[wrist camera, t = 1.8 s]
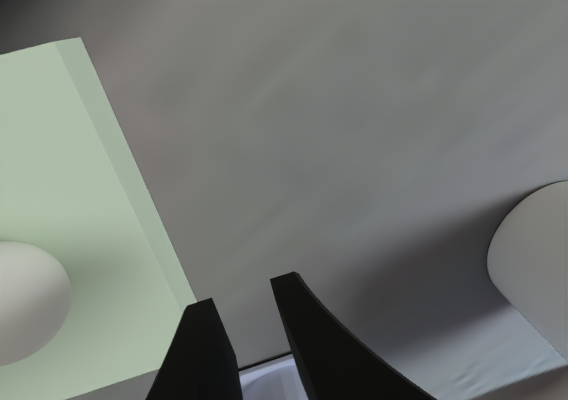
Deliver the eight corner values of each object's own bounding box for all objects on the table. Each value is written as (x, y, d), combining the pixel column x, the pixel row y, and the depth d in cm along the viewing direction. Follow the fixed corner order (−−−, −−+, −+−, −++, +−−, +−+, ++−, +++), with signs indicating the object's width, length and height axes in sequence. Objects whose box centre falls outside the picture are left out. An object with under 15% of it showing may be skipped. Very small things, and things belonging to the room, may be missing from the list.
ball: (102, 290, 16) (74, 371, 12) (1, 321, 15) (-57, 413, 12) (53, 206, 14) (2, 272, 10) (-63, 239, 13) (-156, 319, 10)
